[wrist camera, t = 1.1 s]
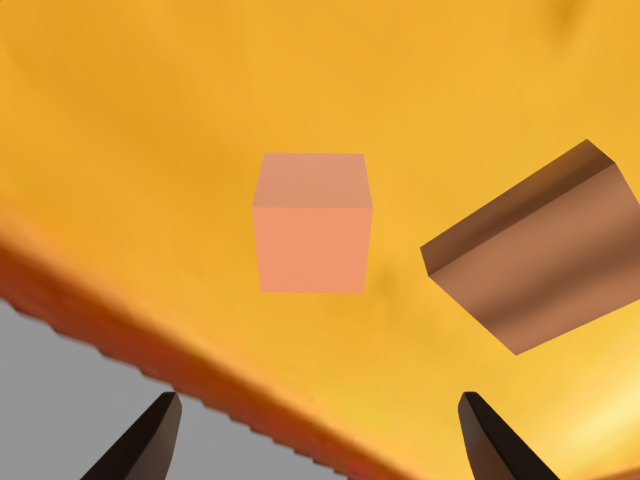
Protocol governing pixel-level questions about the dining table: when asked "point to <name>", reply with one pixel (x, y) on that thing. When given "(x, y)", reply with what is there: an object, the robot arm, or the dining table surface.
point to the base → (545, 251)
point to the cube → (312, 222)
